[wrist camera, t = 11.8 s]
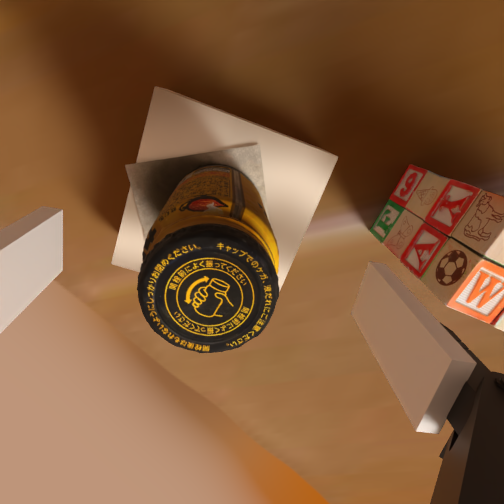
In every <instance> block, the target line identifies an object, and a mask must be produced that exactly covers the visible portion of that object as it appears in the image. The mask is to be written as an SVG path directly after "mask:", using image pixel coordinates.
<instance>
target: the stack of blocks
mask: <svg viewBox="0 0 504 504" xmlns="http://www.w3.org/2000/svg"><path fill="white" fill-rule="evenodd" d="M370 232H371V233H372V234H373V235H374V236H375V237H376V238H377V239H378V240H379V241H380V243H381V244H383V245H385V246H386V247H387V248H388V249H389V250H390V251H391V252H392V253H393V254H394V255H396V256H397V257H398V258H399V259H400V262H401V263H402V264H403V265H404V266H405V267H406V268H408V270H410V271H411V273H413V274H414V275H415V276H416V277H417V278H418V279H419V280H421V281H422V282H423V283H424V284H425V285H426V286H427V287H428V288H429V289H430V290H431V291H432V292H433V293H434V294H435V295H436V296H437V297H438V298H439V299H440V300H441V301H442V302H443V303H444V304H445V305H446V306H448V307H450V308H452V309H455V310H457V311H459V312H462V313H464V314H467V315H469V316H471V317H474V318H476V319H479V320H481V321H483V322H486V323H489V324H490V325H492V326H493V327H495V328H497V329H499V330H502V331H504V197H503V196H500V195H497V194H494V193H491V192H487V191H484V190H482V189H480V188H477V187H475V186H472V185H469V184H467V183H463V182H460V181H457V180H454V179H449V178H446V177H443V176H440V175H437V174H435V173H433V172H431V171H429V170H426V169H423V168H420V167H417V166H414V165H411V164H410V165H409V166H408V168H407V170H406V171H405V173H404V174H403V176H402V178H401V179H400V181H399V183H398V184H397V186H396V188H395V189H394V191H393V193H392V194H391V196H390V198H389V200H388V202H387V203H386V205H385V207H384V208H383V210H382V211H381V213H380V215H379V216H378V218H377V220H376V221H375V223H374V224H373V226H372V228H371V229H370Z"/></svg>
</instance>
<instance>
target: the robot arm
mask: <svg viewBox="0 0 504 504" xmlns="http://www.w3.org/2000/svg"><path fill="white" fill-rule="evenodd" d="M62 271H63V209H57V208H51V207H45V206H42V207H40V208H39V209H37V210H35V211H33V212H32V213H30V214H28V215H26V216H25V217H23V218H21V219H19V220H18V221H16V222H14V223H12V224H11V225H9V226H7V227H5V228H4V229H2V230H0V333H1V332H2V331H3V330H4V329H5V328H6V327H7V326H8V325H9V324H10V323H11V322H12V321H13V320H14V319H15V318H16V317H17V316H18V315H19V314H20V313H21V312H22V311H23V310H24V309H25V308H26V307H27V306H28V305H29V304H30V303H31V302H32V301H33V300H34V299H35V298H36V297H37V296H38V295H39V294H40V293H41V292H42V290H44V289H45V288H46V287H47V286H48V285H49V284H50V283H51V282H52V281H53V280H54V279H55V278H56V277H57V276H58V275H59V274H60V273H61V272H62ZM351 315H352V316H353V318H354V320H355V322H356V324H357V325H358V327H359V329H360V331H361V333H362V335H363V336H364V338H365V340H366V342H367V344H368V345H369V347H370V349H371V351H372V353H373V354H374V356H375V358H376V360H377V362H378V364H379V365H380V367H381V369H382V371H383V373H384V374H385V376H386V378H387V380H388V382H389V383H390V385H391V387H392V389H393V391H394V393H395V394H396V396H397V398H398V400H399V402H400V403H401V405H402V407H403V409H404V411H405V413H406V414H407V416H408V418H409V420H410V422H411V423H412V425H413V427H414V429H415V431H418V432H427V433H436V434H439V432H440V431H441V429H442V427H443V425H444V423H445V421H446V419H448V421H449V422H450V424H451V425H452V427H453V428H454V431H453V432H452V434H451V436H450V438H449V439H448V441H447V443H446V445H445V447H444V448H443V450H442V452H441V454H440V456H439V457H441V458H442V459H443V461H442V465H441V468H440V472H439V475H438V478H437V482H436V485H435V489H434V492H433V496H432V499H431V503H430V504H504V374H502V373H497V372H491V371H490V370H489V369H488V368H487V367H486V366H485V365H484V364H483V363H482V362H481V361H480V360H479V359H478V358H477V357H476V356H475V355H474V353H473V352H472V351H471V350H468V349H469V348H468V347H467V346H466V345H465V344H464V343H463V342H461V340H460V339H459V338H458V337H457V335H456V334H455V333H454V332H453V331H451V330H450V329H448V328H447V327H446V326H444V325H443V324H441V323H439V322H438V321H437V320H436V318H435V317H434V316H433V315H432V314H431V313H430V312H429V311H428V310H427V309H426V308H425V307H424V305H423V304H422V303H421V302H420V301H419V300H418V299H417V298H416V297H415V296H414V295H413V294H412V292H411V291H410V290H409V289H408V288H407V287H406V286H405V285H404V284H403V283H402V282H401V281H400V279H399V278H398V277H397V276H396V275H395V274H394V273H393V272H392V271H391V270H390V269H389V268H388V266H387V265H386V264H382V263H376V262H370V261H369V263H368V266H367V269H366V272H365V275H364V278H363V280H362V283H361V286H360V289H359V292H358V295H357V297H356V300H355V303H354V306H353V309H352V311H351Z"/></svg>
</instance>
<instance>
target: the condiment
mask: <svg viewBox="0 0 504 504" xmlns="http://www.w3.org/2000/svg"><path fill="white" fill-rule="evenodd" d="M125 168H126V171H127V175H128V178H129V181H130V184H131V188H132V192H133V195H134V199H135V203H136V206H137V209H138V213H139V217H140V221H141V224H142V227H143V231H144V236H145V244H144V247H143V252H142V256H143V258H142V261H143V262H142V264H141V267H140V273H139V276H138V287H137V290H138V298H139V303H140V306H141V309H142V312H143V315H144V317H145V319H146V321H147V322H148V323H149V325H150V326H151V328H152V329H153V330H154V332H156V333H157V334H159V335H160V336H161V337H162V338H164V339H165V340H166V341H168V342H169V343H171V344H173V345H174V346H177V347H181V348H184V349H187V350H192V351H196V352H199V353H213V352H223V351H226V350H232V349H234V348H239V347H240V346H242V345H243V344H244V343H246V342H247V341H249V340H251V339H252V338H254V337H257V336H258V335H259V334H260V333H261V332H262V331H263V330H264V328H265V327H266V326H267V324H268V323H269V320H270V318H271V316H272V314H273V312H274V309H275V305H276V302H277V299H278V297H279V285H278V280H279V279H278V276H277V274H278V267H279V250H278V246H277V240H276V238H275V236H274V233H273V230H272V228H271V225H270V222H269V215H268V207H267V199H266V191H265V183H264V175H263V167H262V158H261V150H260V145H253V146H246V147H240V148H233V149H226V150H219V151H212V152H206V153H199V154H193V155H187V156H181V157H174V158H167V159H160V160H154V161H148V162H142V163H135V164H128V165H125Z"/></svg>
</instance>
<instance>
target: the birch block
mask: <svg viewBox="0 0 504 504" xmlns="http://www.w3.org/2000/svg"><path fill="white" fill-rule="evenodd" d="M253 145H260V150H261V158H262V167H263V175H264V183H265V191H266V199H267V207H268V215H269V222H270V225H271V228H272V230H273V233H274V236H275V238H276V240H277V246H278V250H279V267H278V274H277V276H278V279H279V280H278V285H279V292H280V289H281V287H282V285H283V283H284V280H285V278H286V276H287V273H288V271H289V269H290V267H291V264H292V262H293V260H294V257H295V255H296V253H297V251H298V248H299V246H300V244H301V241H302V239H303V237H304V235H305V232H306V230H307V228H308V225H309V223H310V221H311V219H312V216H313V214H314V212H315V209H316V207H317V205H318V203H319V200H320V198H321V196H322V194H323V191H324V189H325V187H326V184H327V182H328V180H329V178H330V175H331V173H332V171H333V168H334V166H335V164H336V162H337V159H338V156H336V155H334V154H332V153H330V152H328V151H325V150H323V149H321V148H319V147H316V146H313V145H311V144H308V143H306V142H303V141H300V140H298V139H295V138H293V137H290V136H288V135H285V134H282V133H280V132H277V131H275V130H272V129H269V128H267V127H264V126H262V125H259V124H256V123H254V122H251V121H249V120H246V119H243V118H241V117H238V116H236V115H233V114H231V113H228V112H225V111H223V110H220V109H218V108H215V107H212V106H210V105H207V104H205V103H202V102H199V101H197V100H194V99H192V98H189V97H186V96H184V95H181V94H179V93H176V92H173V91H171V90H168V89H165V88H161V87H157V86H155V87H154V91H153V95H152V99H151V104H150V108H149V112H148V116H147V120H146V124H145V128H144V132H143V136H142V140H141V144H140V148H139V153H138V157H137V161H136V163H142V162H148V161H154V160H160V159H167V158H174V157H181V156H187V155H193V154H199V153H206V152H212V151H219V150H226V149H233V148H240V147H246V146H253ZM144 244H145V236H144V231H143V227H142V224H141V221H140V217H139V213H138V209H137V206H136V203H135V199H134V195H133V192H132V188H131V185H130V189H129V193H128V198H127V202H126V206H125V210H124V214H123V218H122V222H121V226H120V230H119V234H118V238H117V242H116V247H115V251H114V255H113V259H112V263H111V264H113V265H116V266H120V267H123V268H127V269H130V270H134V271H137V272H140V267H141V264H142V262H143V261H142V258H143V256H142V252H143V247H144Z"/></svg>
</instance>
